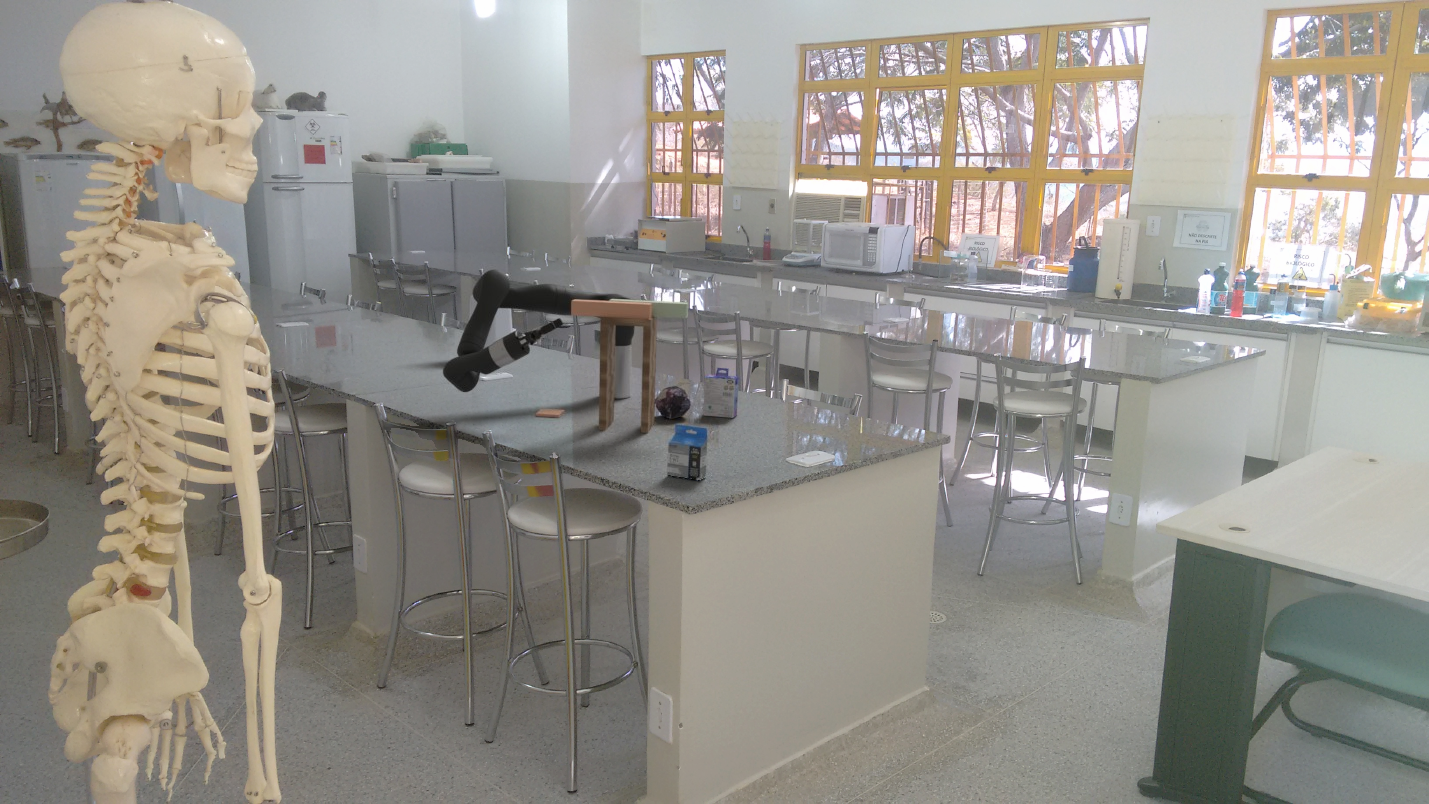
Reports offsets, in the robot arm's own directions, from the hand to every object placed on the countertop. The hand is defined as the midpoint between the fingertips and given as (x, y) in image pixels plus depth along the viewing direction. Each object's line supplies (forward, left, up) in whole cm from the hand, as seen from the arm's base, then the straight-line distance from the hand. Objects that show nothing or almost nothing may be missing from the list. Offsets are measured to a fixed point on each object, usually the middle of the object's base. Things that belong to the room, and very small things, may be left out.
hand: (557, 322), depth 291 cm
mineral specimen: (-19, +31, -30) cm, 47 cm away
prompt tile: (-13, -5, -29) cm, 32 cm away
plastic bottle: (-99, -50, -30) cm, 115 cm away
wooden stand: (-3, +20, -29) cm, 35 cm away
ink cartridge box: (-25, +45, -30) cm, 59 cm away
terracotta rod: (0, +15, +3) cm, 15 cm away
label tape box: (+45, +43, -30) cm, 69 cm away
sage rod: (-6, +25, +3) cm, 26 cm away
